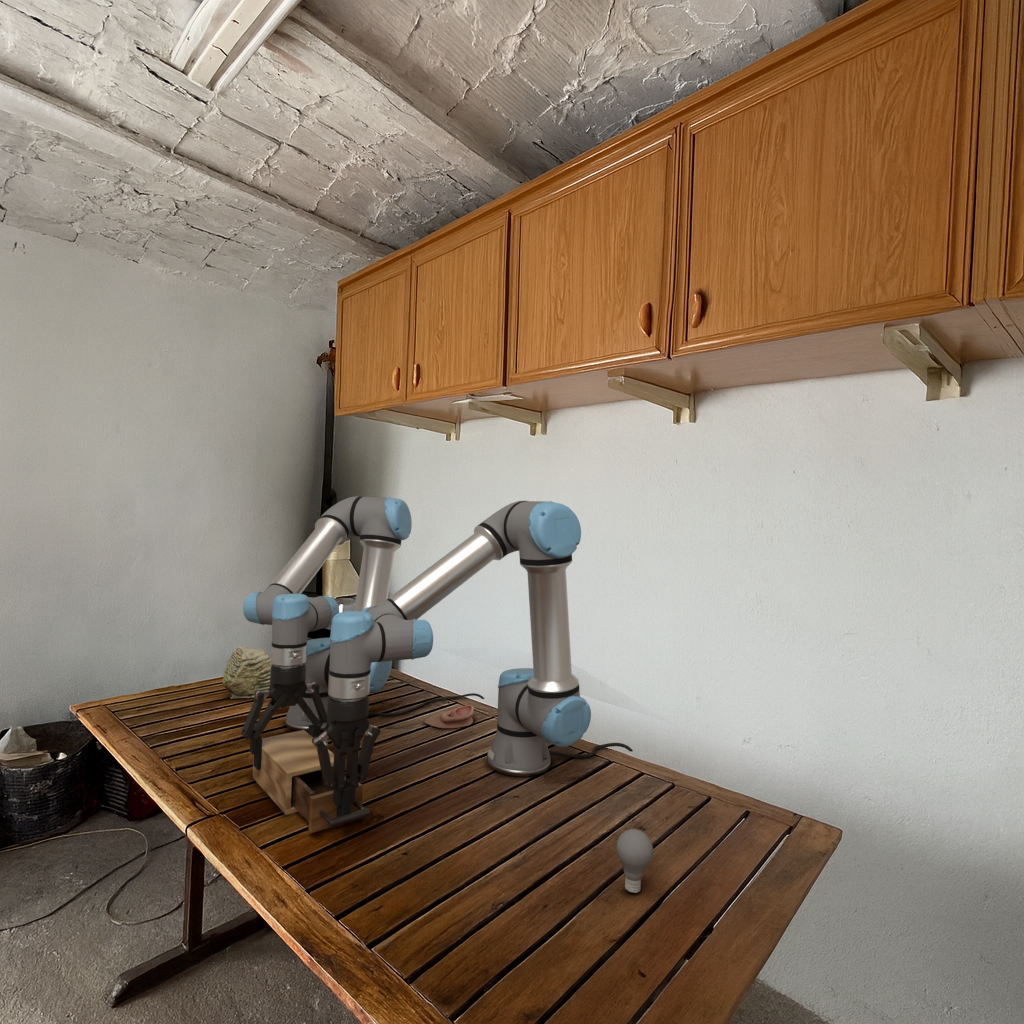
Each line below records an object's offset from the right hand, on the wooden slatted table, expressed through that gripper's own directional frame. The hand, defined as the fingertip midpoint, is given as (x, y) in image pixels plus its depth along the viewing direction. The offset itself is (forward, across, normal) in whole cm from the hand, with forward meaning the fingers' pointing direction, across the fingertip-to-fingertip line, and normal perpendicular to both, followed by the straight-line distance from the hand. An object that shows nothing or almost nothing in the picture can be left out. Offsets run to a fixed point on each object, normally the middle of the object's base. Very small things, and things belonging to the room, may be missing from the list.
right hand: (343, 820), depth 119 cm
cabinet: (+3, 0, +24) cm, 24 cm away
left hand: (0, 0, +30) cm, 30 cm away
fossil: (+4, +13, +92) cm, 93 cm away
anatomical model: (+3, +50, +40) cm, 64 cm away
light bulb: (+3, +32, -43) cm, 54 cm away
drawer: (+2, 0, +10) cm, 10 cm away
